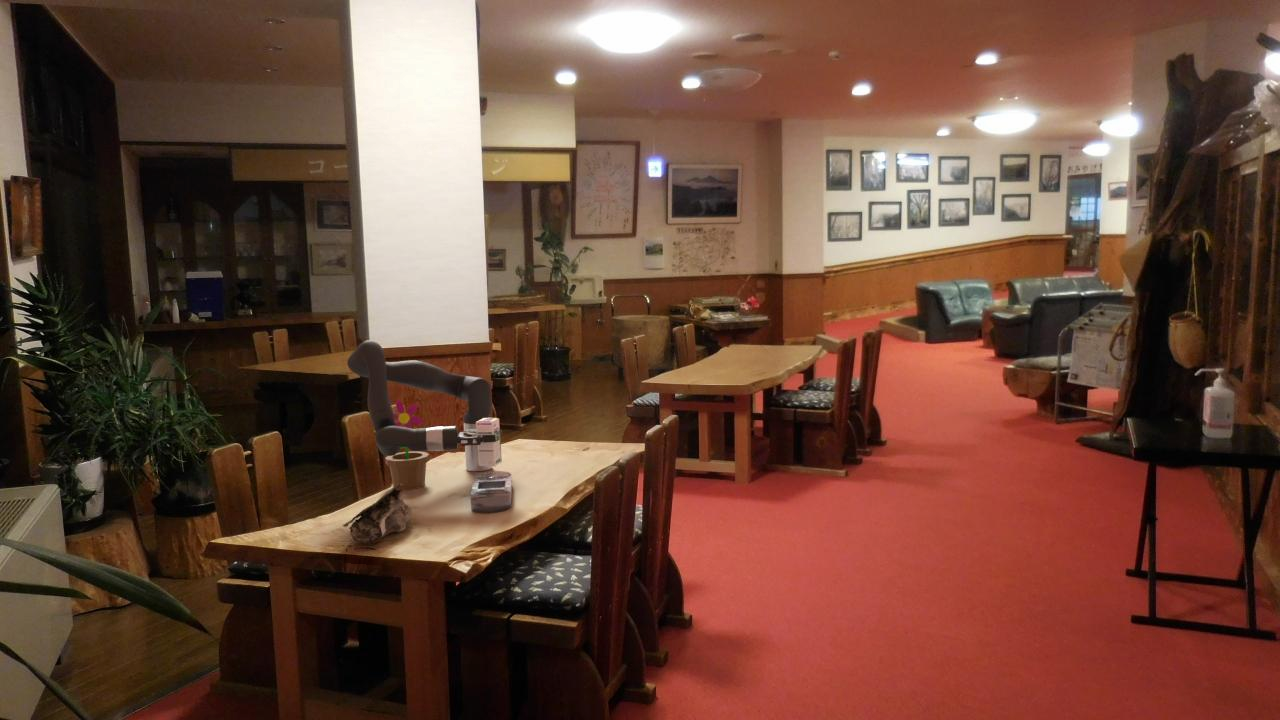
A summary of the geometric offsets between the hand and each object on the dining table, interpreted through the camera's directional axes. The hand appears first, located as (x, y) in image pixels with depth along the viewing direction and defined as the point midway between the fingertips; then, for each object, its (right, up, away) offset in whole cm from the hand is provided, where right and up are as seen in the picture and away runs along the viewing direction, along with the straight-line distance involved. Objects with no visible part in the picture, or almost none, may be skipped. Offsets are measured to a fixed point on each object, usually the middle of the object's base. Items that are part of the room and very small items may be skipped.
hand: (495, 435), depth 284 cm
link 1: (-2, -19, +8) cm, 21 cm away
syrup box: (-2, -9, +1) cm, 9 cm away
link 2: (-1, -20, -4) cm, 21 cm away
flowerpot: (-32, -19, +20) cm, 42 cm away
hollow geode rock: (-27, -25, -33) cm, 50 cm away
